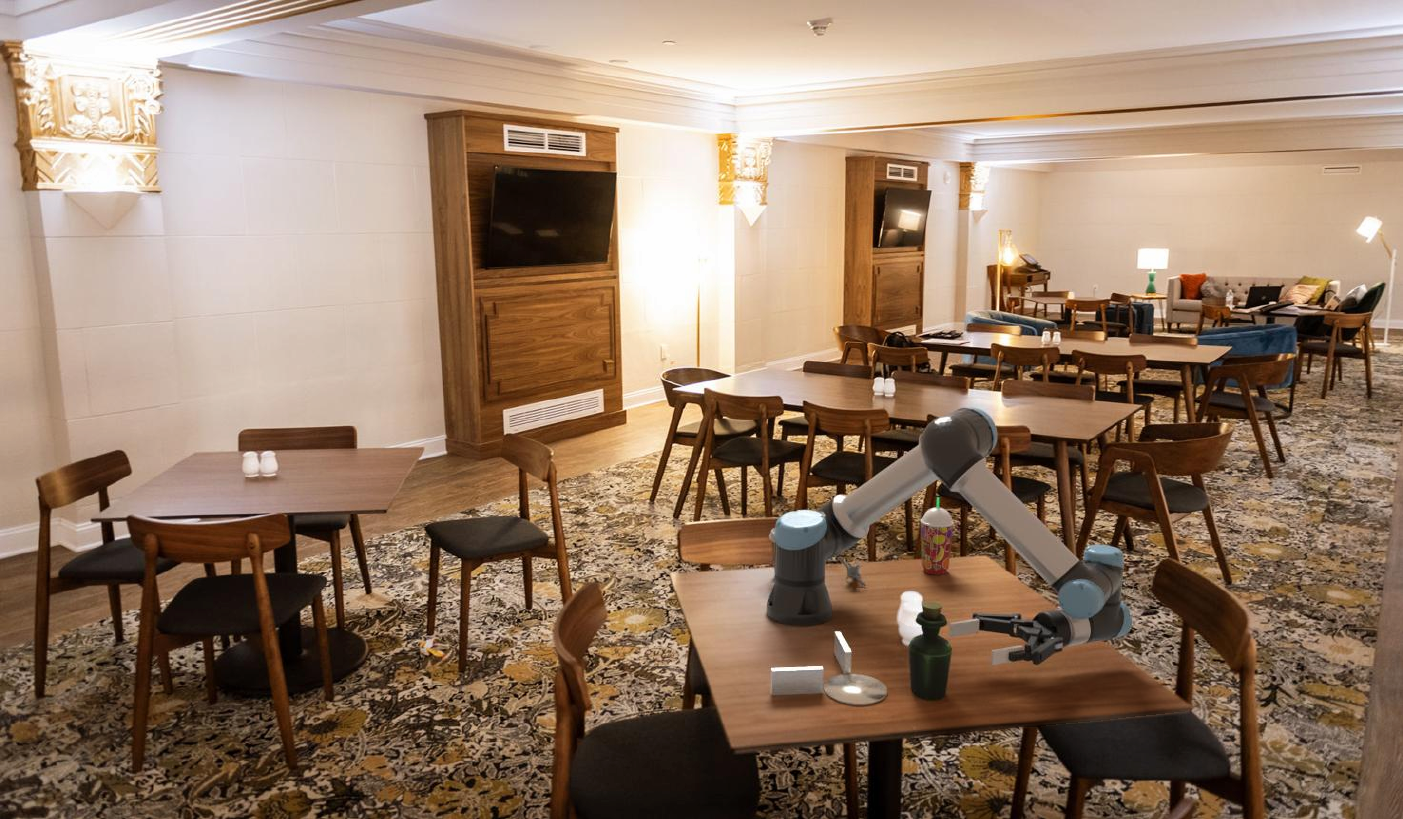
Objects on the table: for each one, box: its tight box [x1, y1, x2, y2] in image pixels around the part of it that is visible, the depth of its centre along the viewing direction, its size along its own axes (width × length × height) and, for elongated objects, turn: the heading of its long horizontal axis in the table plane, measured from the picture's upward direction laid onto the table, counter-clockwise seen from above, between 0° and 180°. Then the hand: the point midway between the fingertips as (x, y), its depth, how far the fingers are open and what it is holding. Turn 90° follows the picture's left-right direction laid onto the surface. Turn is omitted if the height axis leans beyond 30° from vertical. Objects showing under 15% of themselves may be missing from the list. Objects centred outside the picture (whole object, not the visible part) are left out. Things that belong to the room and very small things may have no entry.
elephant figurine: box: [838, 555, 867, 587], centre depth 245 cm, size 10×6×9 cm
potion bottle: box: [908, 600, 953, 702], centre depth 184 cm, size 8×8×18 cm
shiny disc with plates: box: [770, 631, 888, 706], centre depth 189 cm, size 19×24×5 cm
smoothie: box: [920, 496, 955, 576], centre depth 250 cm, size 8×8×20 cm
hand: (970, 643), depth 187 cm, fingers open, 13 cm apart
